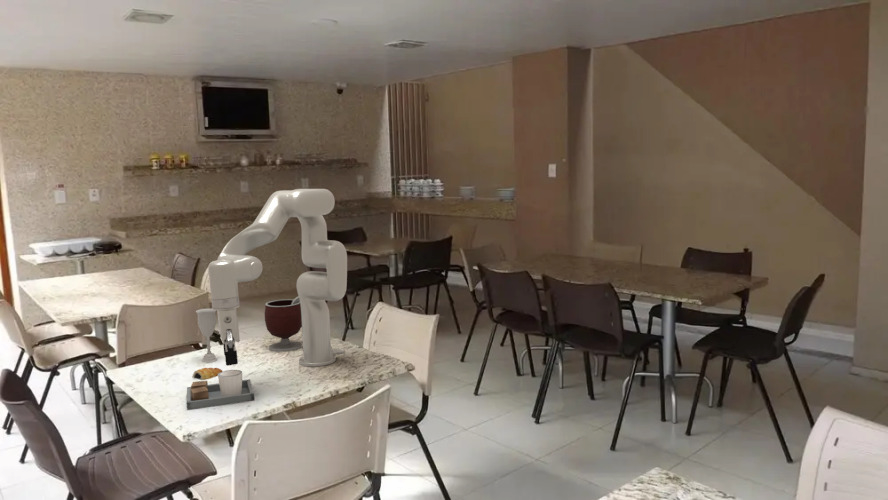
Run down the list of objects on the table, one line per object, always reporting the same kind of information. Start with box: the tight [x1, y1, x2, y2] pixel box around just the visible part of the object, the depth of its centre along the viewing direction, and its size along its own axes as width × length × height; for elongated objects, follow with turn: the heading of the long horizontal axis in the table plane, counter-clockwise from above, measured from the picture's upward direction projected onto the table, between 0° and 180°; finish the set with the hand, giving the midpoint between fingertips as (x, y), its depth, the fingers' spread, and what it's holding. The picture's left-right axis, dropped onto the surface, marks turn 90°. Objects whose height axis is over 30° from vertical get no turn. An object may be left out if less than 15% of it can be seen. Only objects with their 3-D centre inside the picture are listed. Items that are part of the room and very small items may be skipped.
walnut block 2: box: [191, 387, 209, 401], centre depth 185 cm, size 4×4×4 cm
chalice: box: [195, 308, 218, 363], centre depth 230 cm, size 7×7×18 cm
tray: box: [186, 379, 255, 411], centre depth 190 cm, size 18×14×3 cm
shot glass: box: [217, 369, 243, 397], centre depth 190 cm, size 7×7×7 cm
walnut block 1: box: [190, 380, 209, 389], centre depth 191 cm, size 4×4×4 cm
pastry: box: [191, 367, 224, 381], centre depth 211 cm, size 9×7×4 cm
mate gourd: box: [264, 296, 303, 353], centre depth 245 cm, size 16×14×20 cm
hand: (231, 359), depth 190 cm, fingers open, 9 cm apart
